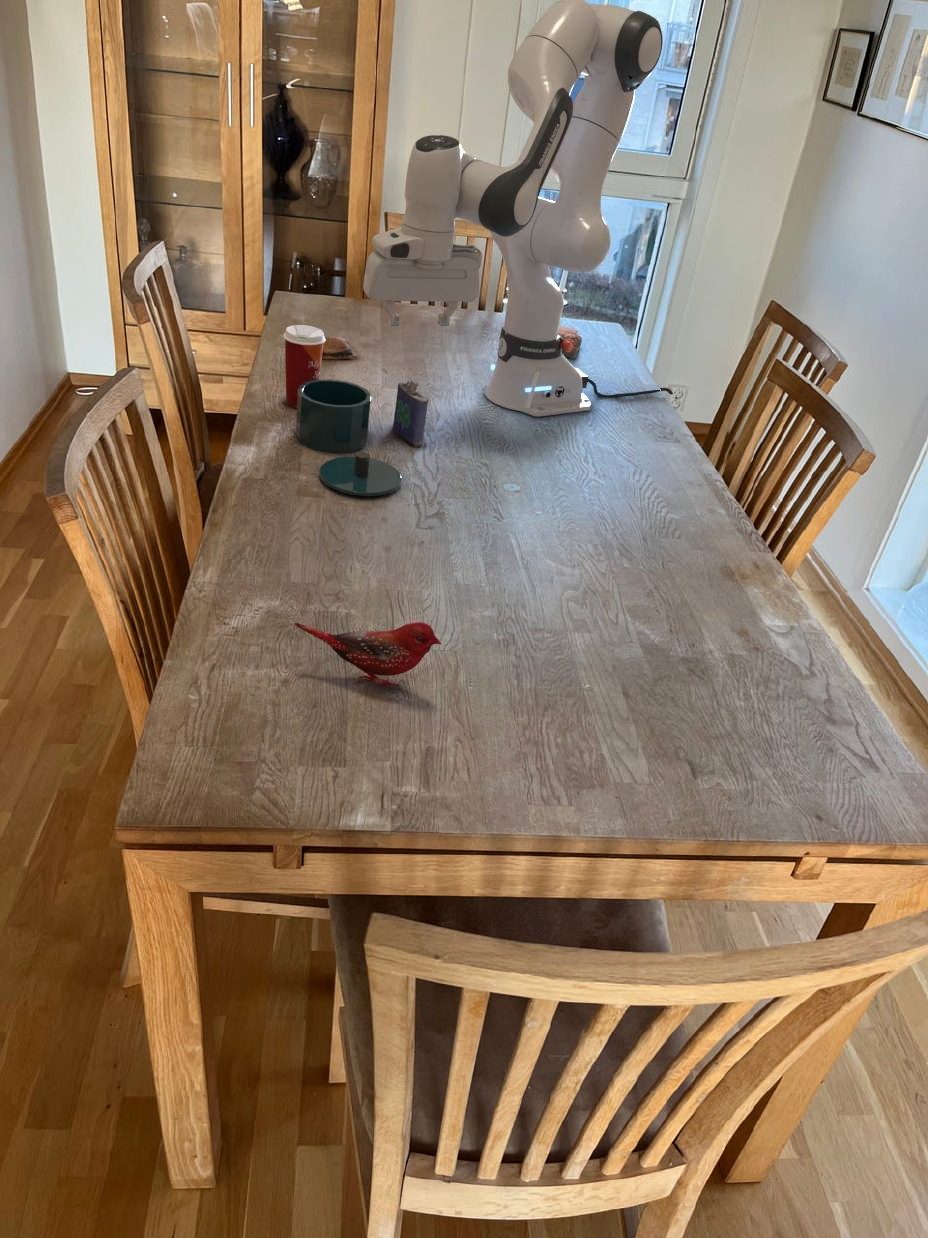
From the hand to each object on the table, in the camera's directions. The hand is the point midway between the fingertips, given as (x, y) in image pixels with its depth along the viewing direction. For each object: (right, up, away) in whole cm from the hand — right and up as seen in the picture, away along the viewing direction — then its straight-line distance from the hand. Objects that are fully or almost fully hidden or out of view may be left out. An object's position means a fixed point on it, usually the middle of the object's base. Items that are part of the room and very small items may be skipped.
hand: (418, 325), depth 171 cm
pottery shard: (+29, +15, +67) cm, 75 cm away
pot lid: (-9, -28, -8) cm, 30 cm away
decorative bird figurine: (-4, -59, -53) cm, 79 cm away
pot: (-16, -19, +5) cm, 25 cm away
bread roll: (-21, +6, +41) cm, 47 cm away
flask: (-3, -18, +10) cm, 21 cm away
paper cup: (-23, -10, +16) cm, 30 cm away
